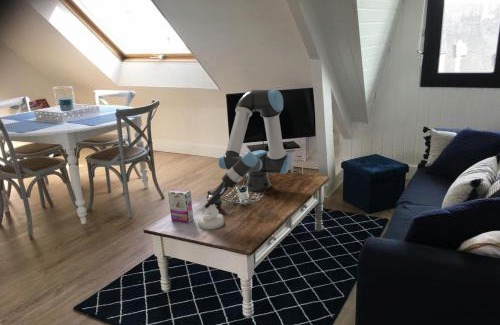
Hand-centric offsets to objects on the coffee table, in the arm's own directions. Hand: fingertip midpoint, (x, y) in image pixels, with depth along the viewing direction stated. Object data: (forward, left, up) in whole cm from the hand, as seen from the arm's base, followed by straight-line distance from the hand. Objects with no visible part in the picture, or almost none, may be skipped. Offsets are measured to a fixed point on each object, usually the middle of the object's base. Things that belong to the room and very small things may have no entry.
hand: (202, 209), depth 205 cm
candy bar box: (-5, -12, -8) cm, 16 cm away
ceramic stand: (0, +4, -8) cm, 9 cm away
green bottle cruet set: (-16, +3, -8) cm, 18 cm away
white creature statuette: (0, +4, -5) cm, 6 cm away
